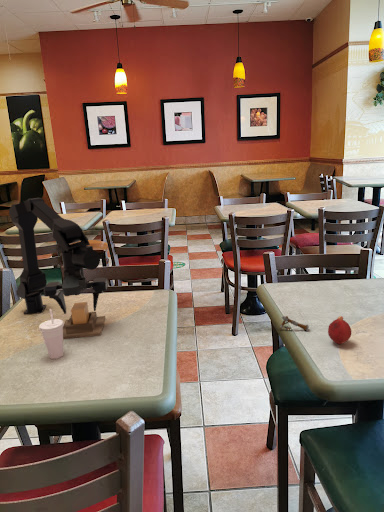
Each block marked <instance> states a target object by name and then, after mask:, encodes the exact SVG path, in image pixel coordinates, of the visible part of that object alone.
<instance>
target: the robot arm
mask: <svg viewBox="0 0 384 512" xmlns="http://www.w3.org/2000/svg"><path fill="white" fill-rule="evenodd" d="M8 214H9V217H10V219H11V222H12V224H13V225H14V226H15V227H16V228H17V230H18V236H19V243H20V251H21V257H22V266H23V270H22V271H21V274H20V276H19V285H18V287H17V290H16V294H17V296H18V298H21V299H24V302H25V308H26V309H25V310H24V312H23V314H24V315H28V314H37V313H43V311H44V310H45V309H46V308H47V304H44V303H43V298H42V294H43V296H44V297H49V299H53V300H54V301H55V302H57V304H58V306H59V307H60V309H61V311H62V312H63V314H64V315H66V314H67V305H66V301H65V297H69V296H80V294H81V293H82V292H81V291H83V290H87V289H92V299H93V300H92V301H93V302H92V303H93V306H92V307H93V312H97V311H96V310H97V306H98V301H99V297H100V294H103V292H105V291H107V289H108V286H109V283H108V278H107V277H103V276H102V277H95V278H93V281H88V282H87V279H86V276H85V271H84V269H86V270H91V271H92V270H95V269H97V268H98V267H99V265H100V262H101V256H100V255H99V252H98V251H96V250H94V247H93V246H92V245H91V244H90V242H89V238H88V237H87V236H86V234H85V233H84V231H83V230H82V228H81V226H80V225H79V224H78V223H76V222H75V221H72V220H71V219H67V218H66V219H65V218H64V217H62V216H60V214H58V213H57V212H56V211H55V210H54V209H53V208H51V206H49V205H48V204H47V203H46V202H45V200H44V199H43V198H42V197H35V198H27V199H26V200H24V201H22V202H19V203H13V204H11V207H9V209H8ZM38 220H40V221H41V222H42V223H43V224H44V225H45V226H46V227H48V229H50V231H51V235H52V238H53V239H54V240H55V242H56V243H57V244H58V245H59V246H58V247H57V251H58V252H59V251H60V253H61V259H62V264H63V280H62V284H61V282H60V281H52V282H48V281H47V277H46V276H47V275H46V273H45V272H43V271H42V270H41V269H40V267H39V261H38V260H39V259H38V252H37V246H36V245H37V244H36V236H35V227H36V224H37V222H38Z"/></svg>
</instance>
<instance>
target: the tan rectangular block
mask: <svg viewBox="0 0 384 512" xmlns="http://www.w3.org/2000/svg"><path fill="white" fill-rule="evenodd" d="M71 307H72V308H71V309H70V312H71V314H72V320H73V325H74V324H84V323H89V320H90V318H89V312H90V311H89V306H88V301H82V302H74V303H73V305H72V306H71ZM71 314H70V315H71Z"/></svg>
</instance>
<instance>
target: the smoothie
mask: <svg viewBox="0 0 384 512" xmlns="http://www.w3.org/2000/svg"><path fill="white" fill-rule="evenodd" d="M48 310H49V315H50V319H48V320H46V321H43V322H42V323H40V324H39V326H38V327H39V328H38V329H39V332H41V335H42V339H43V341H44V344H45V346H46V351H47V353H48V357H49V358H50V359H51V360H56V359H60V358H62V357H63V356H64V339H63V326H64V320H63V319H58V318H54V316H53V310H52V308H49V309H48Z"/></svg>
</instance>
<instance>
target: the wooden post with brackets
mask: <svg viewBox="0 0 384 512" xmlns="http://www.w3.org/2000/svg"><path fill="white" fill-rule="evenodd" d="M281 319H282V320H283V321H282V323H281V324H280V326H279V330H282V329H283V328H284V329H285V331H288V329H289V330H290V329H292V328H291V327H290V326H288V325H286V324H289V323H290V324H291V325H293V326H295V327H299V328H300V329H301V330H304V331H305V330H307V331H308V330H309V326H310V325H309V324H302V323H299V322H297V321H296V320H294V319H291V318H289V316H288V315H286V316H285V315H283V316H281ZM285 325H286V326H285Z"/></svg>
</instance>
